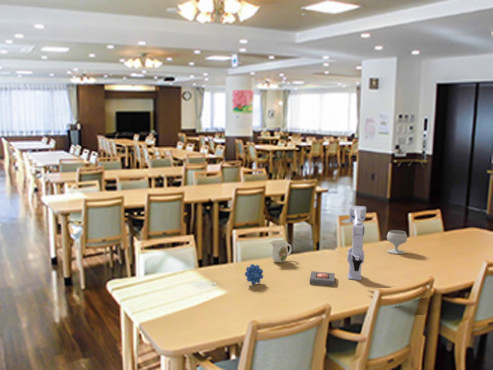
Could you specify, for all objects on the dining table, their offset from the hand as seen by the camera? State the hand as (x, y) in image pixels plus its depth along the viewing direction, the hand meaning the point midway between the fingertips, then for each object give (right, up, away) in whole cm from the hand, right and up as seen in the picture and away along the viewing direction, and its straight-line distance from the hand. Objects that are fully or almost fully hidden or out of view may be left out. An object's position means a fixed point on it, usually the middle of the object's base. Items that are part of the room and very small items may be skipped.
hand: (356, 268), depth 273 cm
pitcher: (-40, -3, +45) cm, 60 cm away
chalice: (+45, -1, +72) cm, 85 cm away
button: (-18, -8, +9) cm, 22 cm away
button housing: (-18, -9, +9) cm, 22 cm away
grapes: (-58, -9, +1) cm, 59 cm away
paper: (-83, -10, -5) cm, 84 cm away
